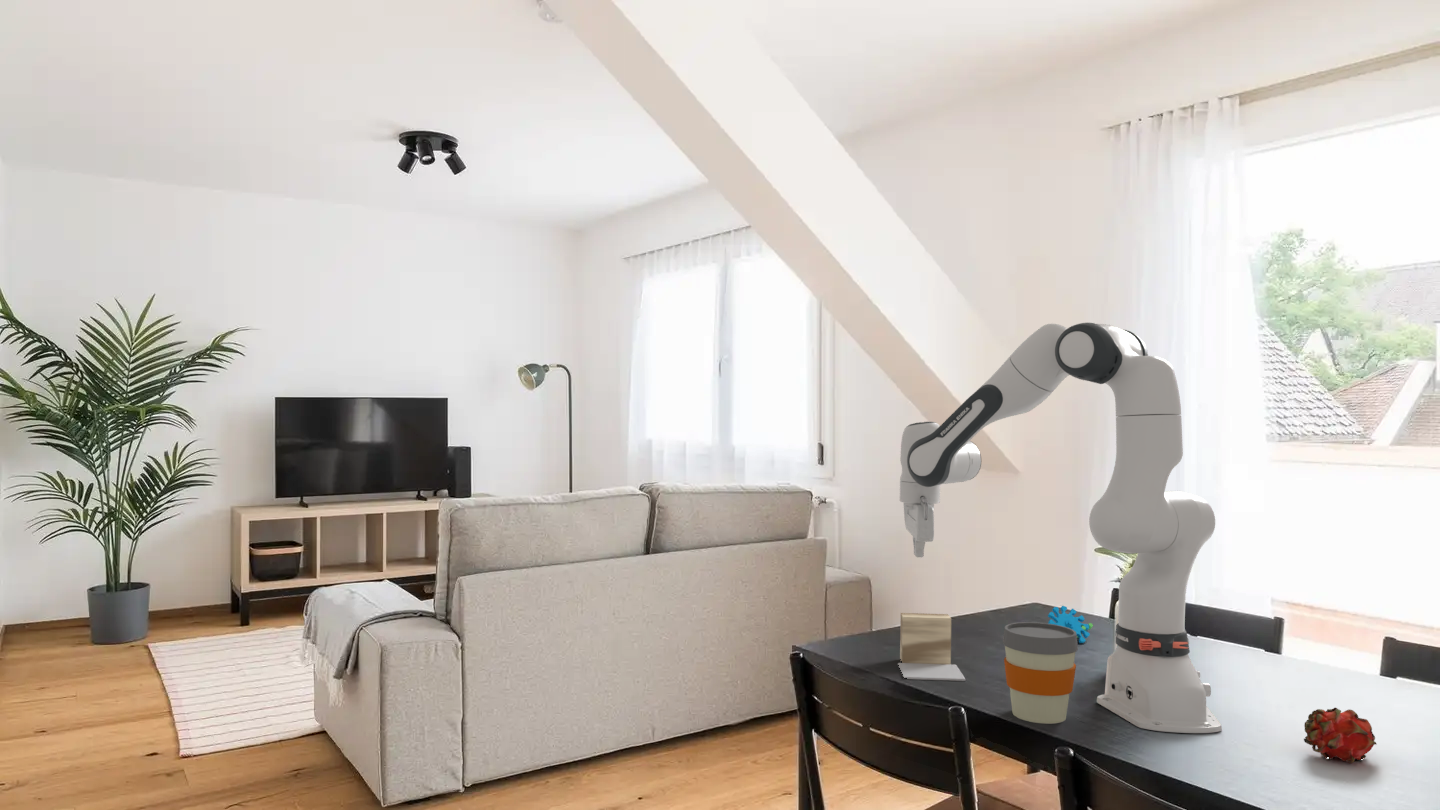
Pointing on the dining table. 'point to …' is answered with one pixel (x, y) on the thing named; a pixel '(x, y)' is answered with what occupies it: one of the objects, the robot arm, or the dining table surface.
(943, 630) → the birch slab
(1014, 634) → the reusable coffee cup
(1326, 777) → the dining table surface
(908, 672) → the mat
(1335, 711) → the dragon fruit
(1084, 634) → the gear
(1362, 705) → the dining table surface
